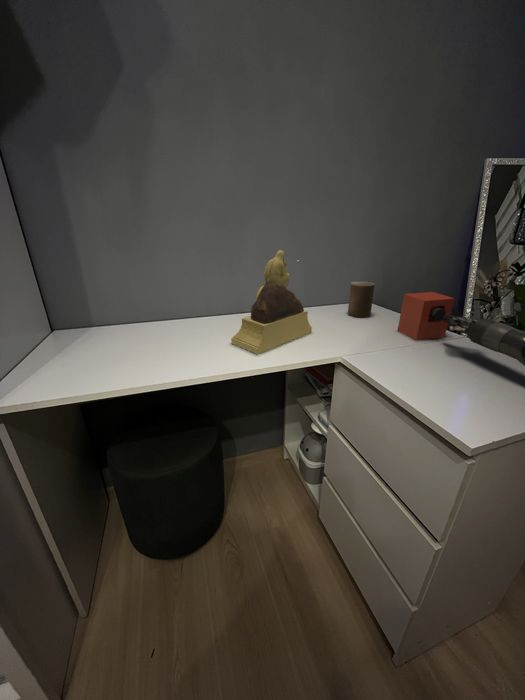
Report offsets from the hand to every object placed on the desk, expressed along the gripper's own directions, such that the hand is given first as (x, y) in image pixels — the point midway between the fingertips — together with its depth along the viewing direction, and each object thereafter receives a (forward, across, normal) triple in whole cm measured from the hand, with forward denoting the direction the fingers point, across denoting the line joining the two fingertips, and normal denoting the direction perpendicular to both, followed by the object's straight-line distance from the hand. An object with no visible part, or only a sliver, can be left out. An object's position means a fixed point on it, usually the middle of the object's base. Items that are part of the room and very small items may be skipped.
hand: (444, 317), depth 98 cm
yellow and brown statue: (+20, -53, -9) cm, 57 cm away
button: (+3, 0, -2) cm, 4 cm away
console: (+9, 0, -9) cm, 13 cm away
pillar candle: (+36, -9, -9) cm, 38 cm away
